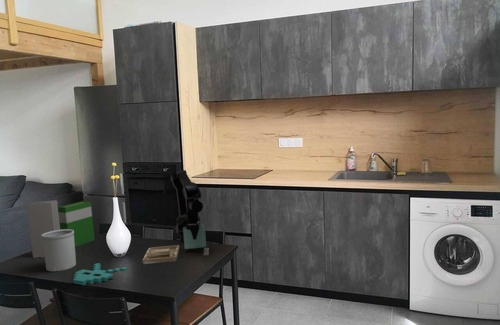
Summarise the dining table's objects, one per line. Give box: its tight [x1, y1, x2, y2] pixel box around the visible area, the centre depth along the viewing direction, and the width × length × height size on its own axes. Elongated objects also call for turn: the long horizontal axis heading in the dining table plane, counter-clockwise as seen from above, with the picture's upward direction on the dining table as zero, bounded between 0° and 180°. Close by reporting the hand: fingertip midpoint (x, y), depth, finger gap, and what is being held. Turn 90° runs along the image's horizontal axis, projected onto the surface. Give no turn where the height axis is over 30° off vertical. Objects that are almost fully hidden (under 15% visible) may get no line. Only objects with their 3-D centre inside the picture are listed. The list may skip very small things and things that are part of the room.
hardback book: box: [57, 200, 96, 248], centre depth 251 cm, size 18×7×24 cm, turn 150°
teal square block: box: [183, 224, 207, 250], centre depth 217 cm, size 3×11×11 cm, turn 95°
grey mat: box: [202, 247, 210, 256], centre depth 218 cm, size 11×13×1 cm
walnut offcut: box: [148, 253, 170, 259], centre depth 208 cm, size 4×10×2 cm, turn 100°
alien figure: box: [72, 262, 129, 286], centre depth 194 cm, size 20×2×20 cm
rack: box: [142, 244, 181, 265], centre depth 213 cm, size 20×16×3 cm
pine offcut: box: [152, 249, 170, 256], centre depth 208 cm, size 4×8×2 cm, turn 91°
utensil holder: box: [41, 229, 77, 272], centre depth 210 cm, size 15×15×18 cm
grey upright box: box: [26, 200, 60, 259], centre depth 230 cm, size 14×6×30 cm, turn 84°
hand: (194, 238), depth 217 cm, fingers closed on teal square block, 3 cm apart
